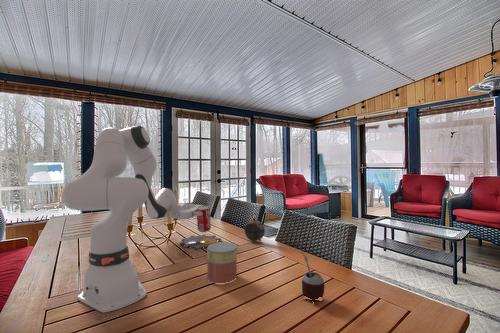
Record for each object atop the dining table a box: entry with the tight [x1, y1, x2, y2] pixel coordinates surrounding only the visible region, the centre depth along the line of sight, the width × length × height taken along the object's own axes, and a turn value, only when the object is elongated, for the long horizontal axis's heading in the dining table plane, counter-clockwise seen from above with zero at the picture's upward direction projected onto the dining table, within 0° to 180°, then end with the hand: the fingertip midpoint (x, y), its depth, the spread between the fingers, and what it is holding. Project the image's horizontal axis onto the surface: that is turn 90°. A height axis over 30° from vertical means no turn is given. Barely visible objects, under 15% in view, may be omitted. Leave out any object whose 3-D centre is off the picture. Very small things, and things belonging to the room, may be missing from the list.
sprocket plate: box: [179, 234, 222, 250], centre depth 138 cm, size 22×22×2 cm
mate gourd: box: [299, 248, 325, 302], centre depth 82 cm, size 8×8×15 cm
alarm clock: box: [244, 212, 266, 242], centre depth 139 cm, size 11×5×16 cm, turn 58°
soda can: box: [196, 205, 212, 233], centre depth 139 cm, size 7×7×13 cm
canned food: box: [206, 241, 238, 283], centre depth 97 cm, size 11×11×12 cm
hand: (205, 212), depth 137 cm, fingers closed on soda can, 5 cm apart
